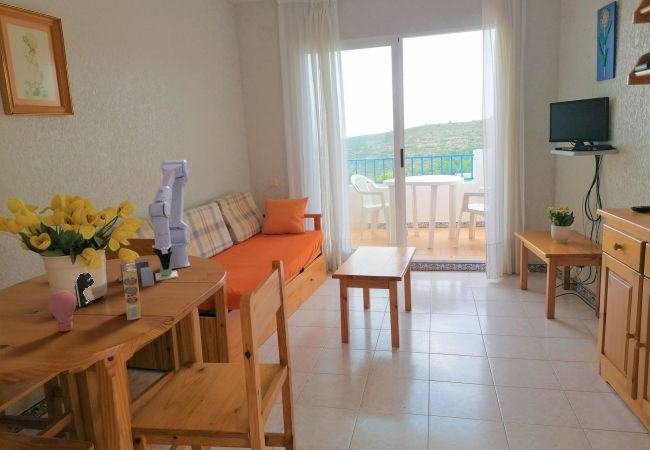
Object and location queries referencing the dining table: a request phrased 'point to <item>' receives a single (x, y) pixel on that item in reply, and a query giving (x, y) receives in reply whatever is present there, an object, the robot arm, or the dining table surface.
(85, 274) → the black curved piece
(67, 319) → the light bulb
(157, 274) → the plate
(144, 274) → the blue-grey part
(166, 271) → the sage part
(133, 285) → the candy box
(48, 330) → the dining table surface
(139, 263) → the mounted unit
